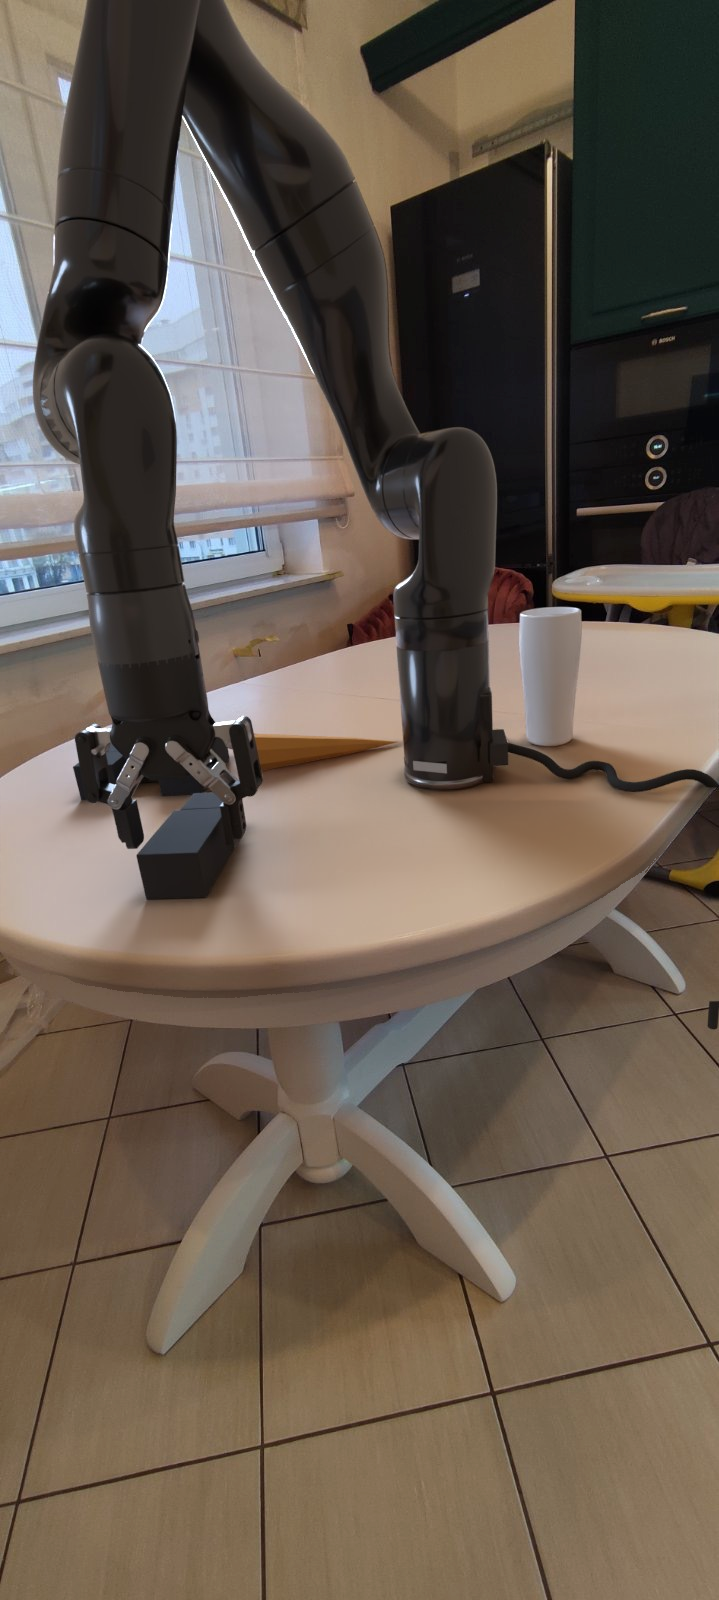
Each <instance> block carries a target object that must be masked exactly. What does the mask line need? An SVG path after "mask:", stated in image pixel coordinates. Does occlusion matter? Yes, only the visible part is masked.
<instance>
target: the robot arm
mask: <svg viewBox="0 0 719 1600" xmlns="http://www.w3.org/2000/svg"><path fill="white" fill-rule="evenodd" d="M241 33H242V32H240V30H239V28H238V26H237V24H236V22H235V20H234V18H233V16H232V14H231V12H230V9H229V8H228V5H227V3H226V1H225V0H86V3H85V9H84V14H83V21H82V26H81V30H80V35H79V36H80V37H79V40H78V45H77V46H78V47H77V52H76V58H75V61H74V66H73V71H72V76H71V81H70V85H69V90H68V96H67V100H66V106H65V111H64V118H63V123H62V129H61V137H60V145H59V154H58V155H59V156H58V163H57V164H58V165H57V180H56V197H55V212H54V213H55V214H54V232H53V265H52V266H53V268H52V274H51V279H50V283H49V288H48V292H47V296H46V300H45V304H44V309H43V315H42V319H41V325H40V329H39V333H38V339H37V346H36V351H35V357H34V362H33V363H34V364H33V372H32V373H33V374H32V402H33V408H34V413H35V417H36V421H37V424H38V426H39V428H40V431H41V432H42V434H43V437H44V438H45V439H46V441H47V442H48V443H49V445H50V446H51V447H52V448H53V450H55V452H57V453H58V454H59V455H60V456H62V457H63V458H65V459H66V460H67V461H69V462H71V463H74V464H78V465H79V466H80V467H79V469H80V475H81V476H80V477H81V483H82V494H83V499H82V504H81V506H80V507H79V509H78V511H77V513H76V515H75V517H74V520H73V529H74V530H73V531H74V539H75V545H76V550H77V554H78V560H79V563H80V564H79V565H80V568H81V573H82V574H81V575H82V578H83V583H84V587H85V592H86V599H87V606H88V621H89V628H90V633H91V638H92V642H93V647H94V652H95V656H96V660H97V665H98V669H99V675H100V679H101V684H102V689H103V693H104V698H105V702H106V707H107V711H108V715H109V716H110V718H111V722H112V724H111V727H109V728H108V727H105V728H103V727H101V726H100V725H99V724H97V723H92V724H90V725H88V726H87V727H85V728H84V729H82V730H81V731H79V732H77V733H76V734H75V736H74V743H75V748H76V754H77V761H78V763H79V766H80V772H81V777H82V783H83V788H84V794H85V798H86V800H85V801H87V802H88V803H91V804H95V803H97V802H98V803H101V804H104V805H106V806H109V808H110V809H111V811H112V814H113V820H114V824H115V828H116V831H117V832H116V833H117V837H118V839H119V840H120V842H121V843H124V844H125V847H126V849H127V850H136V849H138V848H139V847H140V846H141V845H142V844H143V842H144V841H145V834H144V828H143V824H142V819H141V814H140V810H139V805H138V801H137V799H133V797H134V794H135V793H136V791H137V788H138V786H140V783H141V782H140V781H141V780H142V779H143V777H144V776H145V777H147V778H149V780H160V779H163V778H166V777H169V778H174V779H187V778H188V777H189V776H191V775H192V776H193V777H194V778H195V779H196V780H197V781H198V782H199V783H200V784H201V785H202V786H204V787H206V788H208V789H209V790H210V791H211V792H213V793H214V794H215V795H216V796H217V797H218V798H219V799H220V800H221V801H222V804H221V805H220V811H221V817H222V823H223V829H224V835H225V841H226V845H227V846H235V847H236V846H238V843H239V842H240V840H241V839H242V838H243V836H244V834H245V833H246V830H247V821H246V813H245V807H244V800H243V799H245V798H247V797H248V798H249V797H250V798H251V797H254V796H255V795H256V794H257V792H258V790H259V788H260V787H261V786H262V784H263V782H264V775H263V772H262V771H261V766H260V761H259V756H258V751H257V746H256V741H255V737H254V734H255V732H254V728H253V727H254V726H253V722H252V719H251V718H250V717H248V716H247V715H240V716H239V717H238V718H237V719H235V720H228V721H220V722H219V721H218V722H216V720H214V717H213V716H212V715H211V713H210V710H209V700H208V693H207V689H206V681H205V676H204V671H203V670H204V669H203V665H202V664H203V663H202V657H201V652H200V645H199V643H200V635H199V631H198V629H197V627H196V622H195V616H194V612H193V608H192V605H191V602H190V598H189V595H188V592H187V588H186V583H185V576H184V575H185V574H184V569H183V563H182V558H181V557H182V556H181V551H180V546H179V540H178V536H177V531H176V528H175V507H176V497H177V496H176V495H177V467H178V466H177V459H178V458H177V457H178V436H177V435H178V434H177V433H178V432H177V421H176V413H175V408H174V403H173V399H172V395H171V392H170V389H169V387H168V384H167V382H166V381H167V380H166V379H165V376H164V374H163V372H162V370H161V368H160V367H159V365H158V364H157V362H156V361H155V359H154V358H153V357H152V355H151V353H149V352H148V351H147V350H146V349H145V348H144V347H143V346H142V344H143V339H144V335H145V333H146V331H147V329H148V327H149V325H150V324H151V322H152V321H153V320H154V318H155V317H156V316H157V315H158V313H159V312H160V310H161V307H162V305H163V302H164V299H165V295H166V289H167V282H168V273H169V263H170V251H171V238H172V227H173V216H174V215H173V213H174V204H175V203H174V202H175V190H176V179H177V169H178V168H177V167H178V156H179V147H180V138H181V131H182V130H181V129H182V122H183V121H184V123H185V124H186V126H187V128H188V130H189V132H190V134H191V136H192V138H193V140H194V142H195V144H196V146H197V148H198V150H199V151H200V154H201V155H202V157H203V159H204V161H205V162H206V165H207V167H208V168H209V170H210V173H211V174H212V176H213V178H214V180H215V181H216V183H217V185H218V187H219V189H220V192H221V193H222V195H223V198H224V199H225V201H226V202H227V204H228V207H229V208H230V211H231V213H232V215H233V217H234V219H235V221H236V222H237V225H238V227H239V229H240V231H241V233H242V236H243V238H244V241H245V242H246V244H247V246H248V249H249V250H250V252H251V253H252V256H253V258H254V260H255V263H256V264H257V267H258V269H259V270H260V273H261V275H262V276H263V278H264V280H265V282H266V284H267V286H268V288H269V290H270V292H271V294H272V295H273V298H274V300H275V301H276V304H277V305H278V307H279V309H280V311H281V312H282V315H283V317H284V318H285V319H286V321H287V323H288V325H289V327H290V328H291V331H292V333H293V335H294V338H295V339H296V341H297V343H298V345H299V347H300V349H301V351H302V353H303V355H304V357H305V359H306V361H307V363H308V366H309V367H310V369H311V372H312V374H313V376H314V378H315V380H316V382H317V384H318V386H319V388H320V390H321V392H322V394H323V396H324V398H325V400H326V402H327V404H328V406H329V408H330V411H331V413H332V415H333V417H334V419H335V421H336V424H337V427H338V428H339V431H340V434H341V436H342V439H343V441H344V443H345V446H346V449H347V452H348V453H349V457H350V459H351V461H352V464H353V467H354V469H355V471H356V474H357V477H358V479H359V482H360V484H361V487H362V489H363V490H362V491H363V492H364V495H365V497H366V500H367V501H368V504H369V505H370V508H371V510H372V512H373V513H374V515H375V517H376V519H377V520H378V521H379V523H380V524H381V526H383V528H384V529H385V530H386V531H388V532H389V533H390V534H391V535H393V536H396V537H397V538H400V539H404V540H411V541H416V540H417V541H418V560H417V564H416V566H415V569H414V571H413V572H412V573H411V574H410V575H409V576H408V577H407V578H405V579H404V580H403V581H401V582H399V583H397V585H396V586H395V587H394V589H393V594H392V601H393V614H394V629H395V630H394V632H395V644H396V645H395V646H396V656H397V657H396V659H397V661H396V662H397V672H398V674H397V675H398V687H399V689H398V690H399V701H400V715H401V716H400V717H401V729H402V745H403V762H404V768H403V771H404V779H405V780H406V782H408V783H409V784H411V785H413V786H416V787H419V788H424V789H429V790H458V789H463V788H470V787H473V786H476V785H480V784H482V783H493V782H494V781H495V773H494V772H495V769H494V767H505V766H509V754H512V755H515V756H520V757H522V758H523V757H524V758H527V759H530V760H533V761H536V762H537V763H539V764H541V765H543V766H544V767H546V769H547V770H548V771H549V772H551V773H552V774H553V775H554V776H555V777H558V778H559V779H564V780H573V779H576V778H579V777H580V776H583V775H584V774H586V773H587V772H589V771H600V772H603V773H605V776H606V780H607V782H608V783H609V785H610V787H612V788H613V789H615V790H618V791H622V792H626V793H642V792H647V791H653V790H656V789H658V788H659V789H660V788H661V787H664V786H667V785H671V784H673V783H676V782H681V781H695V782H699V783H700V784H702V785H704V786H705V787H707V788H710V789H711V788H713V789H717V788H719V782H717V780H715V778H713V777H712V776H710V775H709V774H707V773H706V772H704V771H702V770H697V769H693V768H691V769H690V768H685V769H680V770H675V771H672V772H668V773H666V774H663V775H660V776H657V777H654V778H651V779H646V780H642V781H626V780H623V779H621V778H619V777H618V774H617V773H618V772H617V771H616V768H615V767H614V766H613V764H611V763H610V762H606V761H602V760H589V761H585V762H583V763H581V764H579V765H577V766H575V767H574V768H571V769H570V768H564V767H562V766H560V765H559V764H558V763H557V762H556V761H555V760H554V759H553V758H552V757H550V756H548V755H547V754H545V753H543V752H541V751H538V750H536V749H533V748H531V747H530V748H529V747H526V746H522V745H519V744H515V743H511V742H508V739H507V736H506V733H505V729H503V728H501V729H499V728H498V729H493V728H494V727H493V725H494V724H493V693H492V689H491V681H490V680H491V679H490V678H491V677H490V675H491V674H490V640H489V638H490V637H489V634H490V633H489V591H490V588H491V585H492V583H493V579H494V576H495V571H496V556H497V555H496V553H497V521H498V520H497V519H498V482H497V481H498V480H497V473H496V467H495V463H494V458H493V455H492V452H491V450H490V448H489V446H488V444H487V443H486V441H485V440H484V439H483V437H482V436H481V435H480V434H479V433H477V432H476V431H474V430H473V429H470V428H467V427H462V426H452V427H444V428H441V429H440V428H439V429H436V430H430V431H425V432H421V431H420V429H419V428H418V426H417V424H416V423H415V421H414V419H413V417H412V415H411V414H410V411H409V409H408V406H407V404H406V401H405V400H404V397H403V395H402V393H401V392H402V391H401V390H400V388H399V384H398V382H397V379H396V376H395V373H394V368H393V362H392V356H391V348H390V347H391V346H390V345H391V344H390V302H389V300H390V299H389V282H388V281H389V280H388V273H387V272H388V271H387V263H386V258H385V253H384V249H383V246H382V242H381V240H380V237H379V234H378V231H377V229H376V226H375V223H374V221H373V219H372V216H371V213H370V211H369V209H368V207H367V204H366V202H365V199H364V197H363V195H362V192H361V190H360V187H359V185H358V181H356V177H355V175H354V173H353V170H352V167H351V166H350V163H349V162H348V159H347V158H346V156H345V154H344V152H343V150H342V148H341V147H340V146H339V145H338V143H337V142H336V141H335V139H334V138H333V137H332V136H331V134H330V133H329V132H328V130H326V128H325V127H324V126H323V124H322V123H320V122H319V120H318V119H317V118H316V117H315V116H314V115H313V114H312V113H311V111H309V110H308V109H307V108H306V107H305V106H304V105H303V104H302V103H301V102H300V101H299V100H298V99H297V98H296V97H295V96H294V95H293V94H292V93H290V91H288V90H287V89H286V87H284V86H283V85H282V83H280V82H279V81H278V80H277V79H276V78H275V76H273V75H272V74H271V73H270V72H269V70H268V69H266V67H265V66H264V65H263V64H262V62H261V61H260V59H258V58H257V56H256V55H255V54H254V52H253V51H252V50H251V48H250V46H249V45H248V43H247V41H246V40H245V38H244V37H243V35H242V34H241ZM217 737H219V738H221V739H222V740H223V741H224V743H225V746H226V747H227V748H228V750H232V753H233V757H234V762H235V766H236V771H237V776H238V778H237V777H236V776H235V775H234V773H232V772H231V771H230V770H229V769H228V768H227V763H226V764H225V762H224V761H223V760H222V759H221V758H220V757H219V756H218V755H217V754H216V753H215V752H214V751H213V750H212V749H211V747H212V745H213V743H214V742H215V740H216V738H217ZM110 743H112V745H113V746H114V747H115V748H116V749H117V750H118V752H119V753H120V754H121V755H122V756H123V757H124V758H125V759H126V760H127V762H126V763H125V765H124V767H123V769H122V771H121V773H120V775H119V777H118V779H117V780H116V785H114V784H111V780H110V774H109V768H108V762H107V755H106V752H108V751H109V750H110ZM718 1024H719V1000H709V1001H708V1013H707V1025H706V1026H707V1028H708V1029H709V1030H718V1026H719V1025H718Z"/></svg>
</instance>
